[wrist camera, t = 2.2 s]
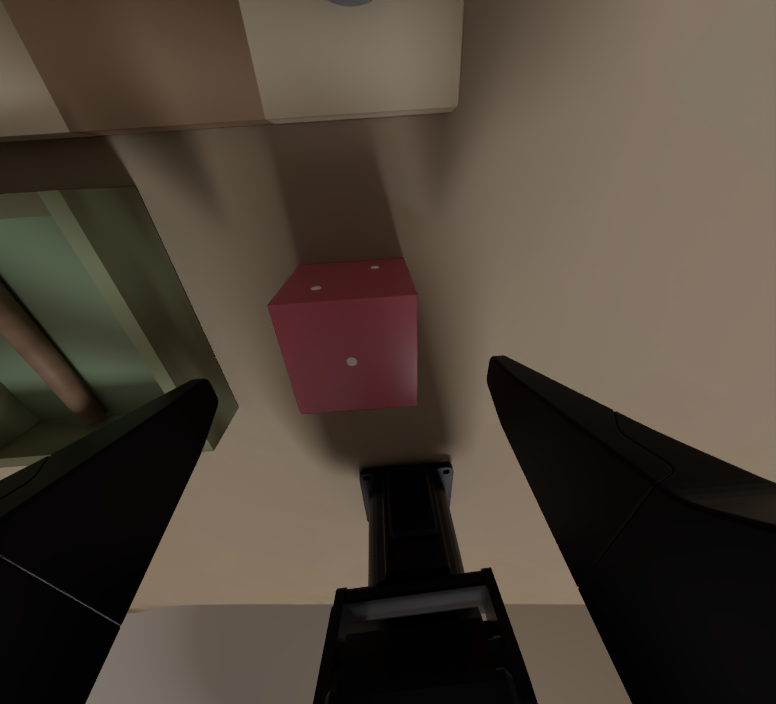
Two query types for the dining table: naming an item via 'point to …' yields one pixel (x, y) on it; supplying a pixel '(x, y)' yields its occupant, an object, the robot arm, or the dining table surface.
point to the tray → (90, 320)
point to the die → (349, 335)
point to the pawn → (350, 2)
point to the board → (220, 63)
